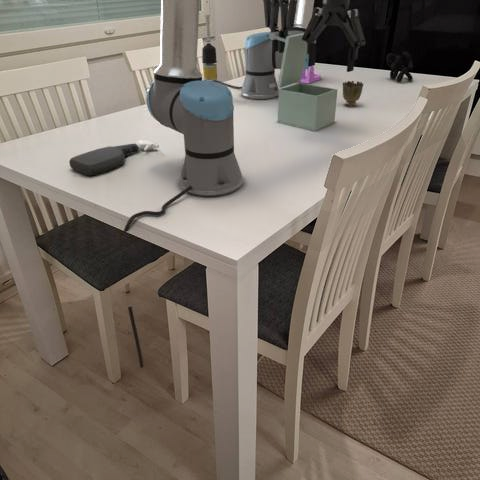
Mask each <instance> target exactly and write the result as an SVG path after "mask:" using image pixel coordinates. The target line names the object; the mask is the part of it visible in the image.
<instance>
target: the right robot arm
mask: <svg viewBox="0 0 480 480" xmlns="http://www.w3.org/2000/svg"><path fill="white" fill-rule="evenodd" d="M262 2H263V14H264V25H265V27H266V28H268V29H269V30H270V31H264V32H257V33H253V34H250V35H248V36H247V37H246V38H245V48H244V50H245V51H244V52H245V53H244V55H245V57H244V59H245V77H244V80H243V84H242V86H237V85H232V84H229V83H225V82H224V81H221V80H218V79H217V80H212V81H215V82H218V83H220V84H223V85H225V86H226V87H228V88H229V87H230V88H234V89H239V90H241V91H240V92H241V93H240V95H241V97H242V98H246V99H249V100H270V99H274V98H277V97H279V89H280V88H279V87H278V81H277V79H276V75H275V74H276V71H275V70H281V65H282V59H283V54H284V48H285V42H283V41H280V40H277V39H275V40H271V39H270V38H269V35H270V33H273V32H278V31H279V37H280V38H283V39H286V37H287V36H288V34H290V35H296V34H301V33H305V30H306V28H307V26H308V24H309V21H310V19H311V17H312V13H313V8H314V4H315V0H262ZM279 14H280V26H281V28H279V25H278V23H279ZM313 43H316V44H317V39H316V40H315V42H313ZM308 61H309V54H307V55H306V60H305V64H304V69H303V70H306V71H307V69H308V68H309V66H308ZM203 81H207V80H204V79H203Z"/></svg>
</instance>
